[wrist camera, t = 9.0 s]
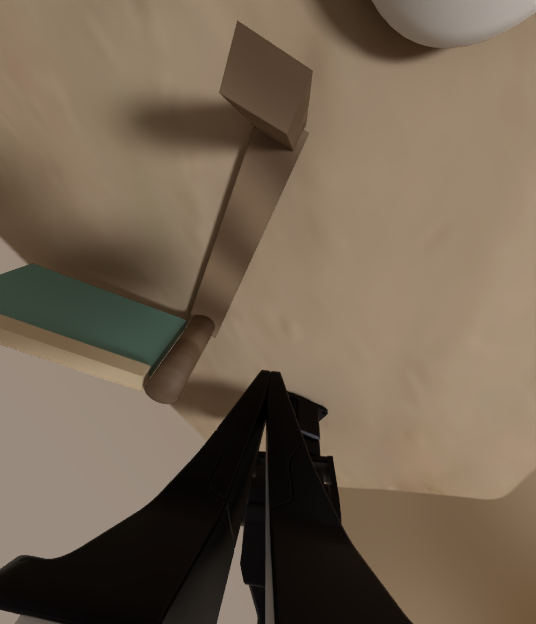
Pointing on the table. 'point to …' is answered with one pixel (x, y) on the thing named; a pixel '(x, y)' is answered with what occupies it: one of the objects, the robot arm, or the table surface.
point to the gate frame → (243, 190)
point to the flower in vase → (453, 19)
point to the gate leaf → (84, 326)
